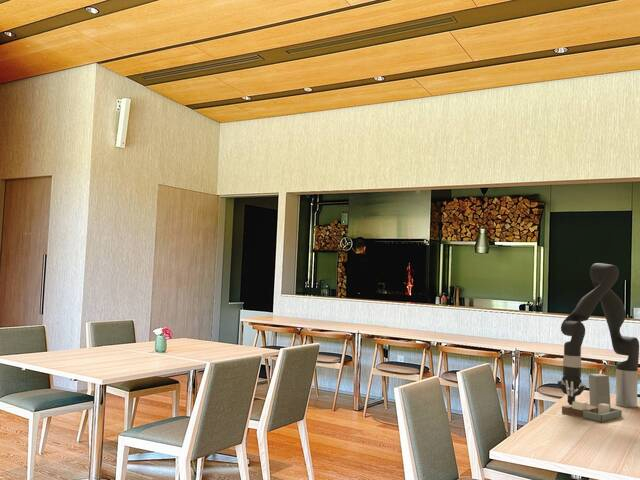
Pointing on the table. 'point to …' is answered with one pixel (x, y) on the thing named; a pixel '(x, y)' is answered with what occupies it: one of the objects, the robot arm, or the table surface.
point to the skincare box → (599, 389)
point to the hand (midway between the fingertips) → (571, 404)
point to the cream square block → (579, 405)
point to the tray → (603, 415)
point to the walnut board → (579, 413)
